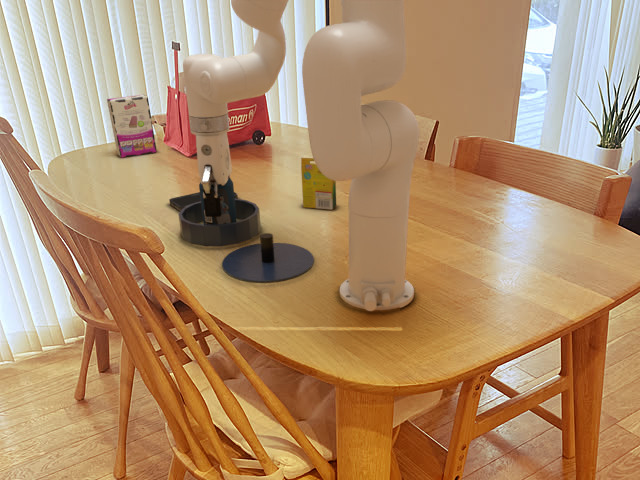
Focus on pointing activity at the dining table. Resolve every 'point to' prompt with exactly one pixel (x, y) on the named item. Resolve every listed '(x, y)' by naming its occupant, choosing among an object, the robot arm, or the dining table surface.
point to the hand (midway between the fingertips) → (218, 207)
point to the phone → (187, 200)
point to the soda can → (226, 204)
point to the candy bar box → (132, 125)
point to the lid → (268, 261)
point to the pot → (222, 232)
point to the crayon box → (317, 187)
